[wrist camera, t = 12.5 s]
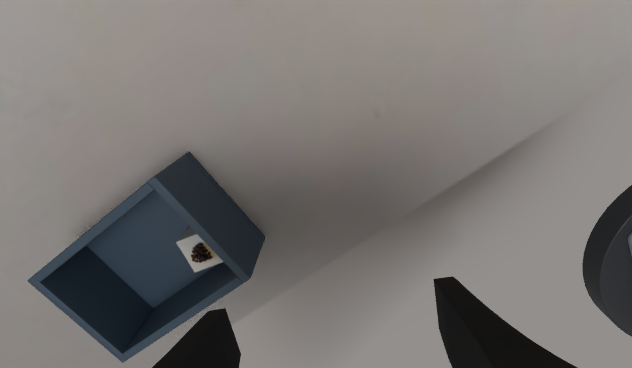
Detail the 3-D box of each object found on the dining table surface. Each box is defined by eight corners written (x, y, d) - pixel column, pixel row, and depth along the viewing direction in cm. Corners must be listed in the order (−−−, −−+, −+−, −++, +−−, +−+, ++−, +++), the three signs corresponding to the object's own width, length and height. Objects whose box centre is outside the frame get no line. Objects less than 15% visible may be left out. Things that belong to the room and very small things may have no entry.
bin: (189, 151, 22) (154, 176, 17) (265, 237, 23) (250, 278, 19) (80, 240, 24) (26, 281, 20) (157, 311, 26) (122, 363, 22)
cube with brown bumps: (236, 241, 23) (225, 263, 21) (207, 252, 23) (192, 275, 21) (219, 212, 22) (206, 231, 20) (189, 224, 23) (173, 245, 20)
